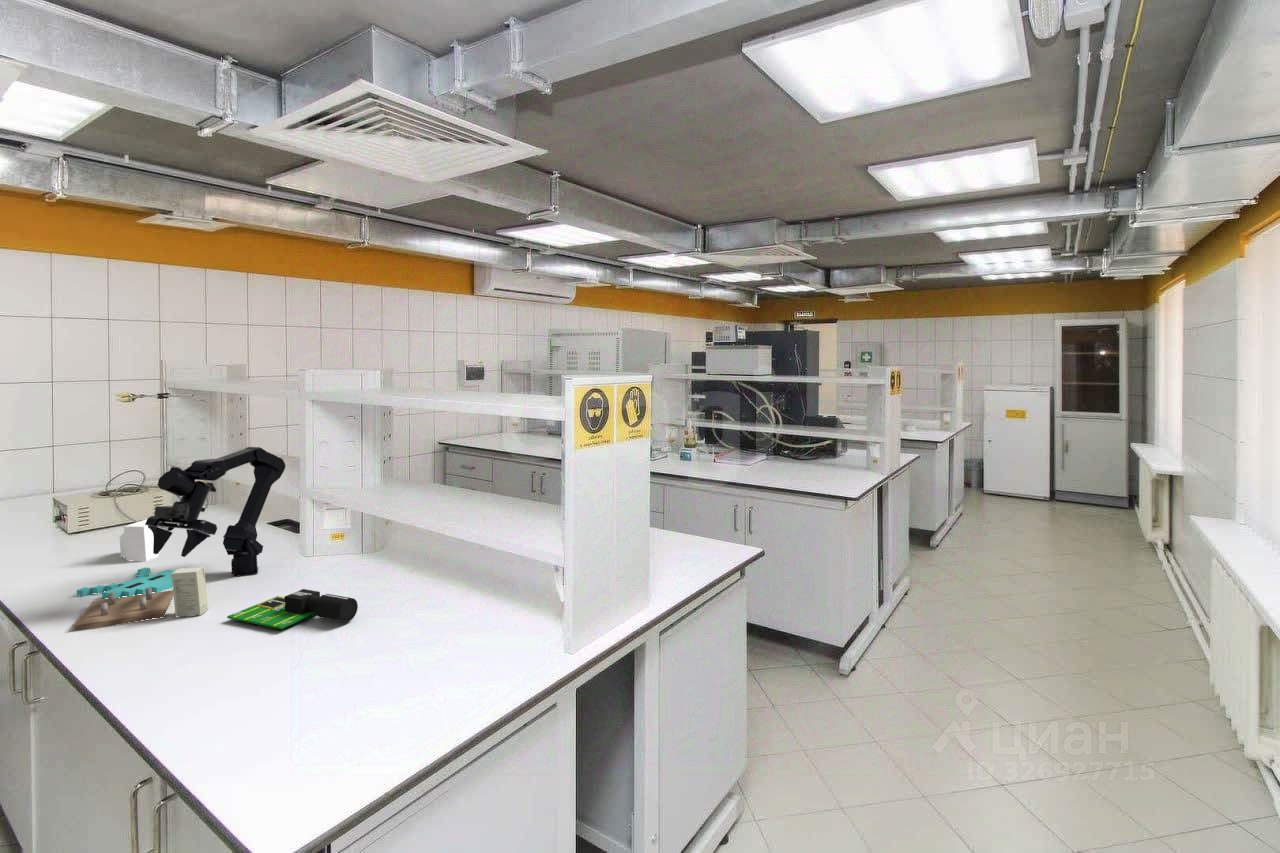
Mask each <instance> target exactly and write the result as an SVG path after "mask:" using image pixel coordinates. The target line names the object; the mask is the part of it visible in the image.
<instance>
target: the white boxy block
mask: <svg viewBox="0 0 1280 853" xmlns="http://www.w3.org/2000/svg"><path fill="white" fill-rule="evenodd" d="M147 519H148V518H147ZM147 519H144V520H143V519H142V520H140V521H136V522H133V523H131V524H128V525H124V526H123V533H122V534H121V535H120V536H119V537H118V538H119V548H120V558H121V557H126V558H125V559H126V560H133V561H132V562H134V561H147V562H149V561H151V560H150V559H152V560H154V559H156V557H157V558H159V557H158V556H159V553H161V552H162V549H161V550H160V552H159V553H158V554H154V553H153V544H154V536H153V532H152V531H151V529H149V528H148V525H145V523H146V521H147ZM153 558H154V559H153ZM148 560H149V561H148Z"/></svg>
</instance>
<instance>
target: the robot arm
mask: <svg viewBox="0 0 1280 853" xmlns="http://www.w3.org/2000/svg"><path fill="white" fill-rule="evenodd" d="M246 464H249V465H251V466H252V467H253V468H254V469H253V476H254V483H253V485H252V488H251V490H250V492H249V495H248V497H247V500H246V503H245V504H244V507H243V509H242V512H241V515H240V517H239V519H238V521H237V522H236V523H235V524H234V525H231V524H230V525H228V526H227V528H226V531H225V534H224V535H223V536H222V539H223V540H222V545H223V547H224V549H225V550H226V553H227V555H228V556H230V555H231V556H232V559H231V561H230V562H231V563H230V564H231V574H232V575H233V578H234V577H242V576H252V575H257V574H259V573H258V572H259V566H258V556H259V555H260V554H262V553H263V548H264V545H263V544H261V543H260V542H259V541H258V540H257V538H258V532H257V527H256V526H257V523H258V520H259V518H260V515H261V513H262V510H263V508H264V505H265V503H266V501H267V498H268V495H269V493H270V490H271V488H272V486H273V484H275V483H276V482H277V481H278V480H280V478H282V475H283V473H284V472H285V470H286V463H285V461H284V459H283V458H282V457H279V456H277V455H275V454H273V453H270V452H268V451H266V450H265V448H262V447H261V446H248V447H245V448H244V449H242V450H238V451H235V452H232V453H230V454H226V455H223V456H220V457H217V458H208V459H207V458H205V459H198V460H195V461H193V462H192V463H191V465H190V466H188V467H186V468H185V469H183V470H182V468H179V467H178V466H177V467H175V466H171V467H170V468H169V470H168V471H166V472H164V473H163V474H162V475H161V476H160V477H159V479H158V481H157V486H158V488H159V489H160V490H163V491H165V492H166V493H170V494H172V495H175V496H178V497H180V499H179V501H174V503H173V504H172V505H163V506H161V505H159V506H158V505H156V506H154V507H155V508H154V515H151V516H149V517H148V518H147V521H146V523H145V525H148V528H149V529H151V531H152V532H153V536H154V544H153V553H154V554H158V555H159V554H160V553H161V552H160V550H161V551H162V549H163V548H164V547H165V545H166V543H167V542H168V540H169V539H170V538H171V536H172V535H173V533H174V532H172V531H173V530H175V529H182V530H183V529H185V530H186V536H187V537H186V540H185V543H184V545H183V547H182V550H181V554H180V556H181V557H186V556H188V555H189V554H190V553H191V552H193V550H194V549H196V547H197V546H198V545H200V544H202V542H204V541H205V540H207V538H211V536H212V535H216V533H217V530H218V526H217V524H215V523H213V522H211V521H208V520H206V519H199V516H200V514H201V513H205V511H206V508H204V505H205V502H206V500H207V498H208V495H209V493H216V492H217V488H216V487H215V484H214V483H213V482H212V481H214V482H215V481H217V480H219V479H220V478H223V476H225V475H226V474H227V472H229V471H230V470H232V469H235V468H238V467H241V466H244V465H246ZM204 481H209V482H204ZM210 481H211V482H210Z"/></svg>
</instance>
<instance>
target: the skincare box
mask: <svg viewBox="0 0 1280 853" xmlns="http://www.w3.org/2000/svg"><path fill="white" fill-rule="evenodd" d="M171 576H172V585H173V588H172V590H173V595H174V597H173V603H174V613H175V617H176V616H186V617H192V616H191V615H199V616H202V615H203V614H205V613H206V612H207V611H208V610H209V606H208V595H207V584H206V573H205V567H204V566H196V567H182V568H178V569H176V570H175V572H173V573H171ZM201 614H202V615H201Z"/></svg>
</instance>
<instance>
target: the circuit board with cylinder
mask: <svg viewBox="0 0 1280 853" xmlns="http://www.w3.org/2000/svg"><path fill="white" fill-rule="evenodd" d="M358 608H359V607H358V601H357V600H356V599H355V597H354V598H353V597H348V596H342V595H338V594H337V595H336V594H330V593H324V594H321V592H320V591H319V590H312V589H305V588H302V589H300V590H297V591H295V592H292V593H290V594H287V595H285V596H279V595H277V596H274V597H272V598H270V599H269V598H268V599H267V600H265V601H261V602H259V603H257V604H255V605H252V606H249V607H247V608H244V609H241V610H240V611H237V612H234V613H232V614H230V615H227V616H226V618H227V619H231V620H235V621H240V622H245V623H249V624H253V625H254V624H255V625H259V626H264V627H268V628H274V629H278V630H282V629H285V628H286V627H289V626H291V625H293V624H296V623H297V622H303V621H305V620H307V619H310V618H313V616H317V617H319V618H323V619H328V620H334V621H338V622H343V623H348V622H350V621H352V620H353V619H354V618H355V616H356V615H357V612H358Z"/></svg>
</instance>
